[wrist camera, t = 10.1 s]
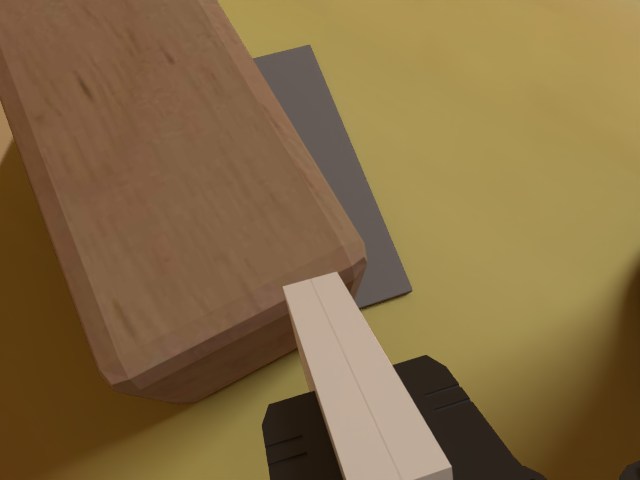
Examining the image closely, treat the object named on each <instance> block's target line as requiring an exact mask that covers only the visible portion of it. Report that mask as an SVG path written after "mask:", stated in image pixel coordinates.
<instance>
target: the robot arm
mask: <svg viewBox="0 0 640 480" xmlns="http://www.w3.org/2000/svg"><path fill="white" fill-rule="evenodd" d="M283 290H284V294H285V298H286V302H287V306H288V310H289V315H290V319H291V323H292V327H293V331H294V335H295V339H296V343H297V347H298V351H299V355H300V359H301V363H302V367H303V371H304V374H305V377H306V380H307V383H308V387H309V390H310V392H308V393H305V394H302V395H298V396H295V397H292V398H289V399H285V400H282V401H279V402H276V403H272V404H269V405H268V408H267V411H266V414H265V417H264V420H263V423H262V430H263V436H264V443H265V448H266V455H267V462H268V467H269V475H270V480H547V479H546V478H545V477H544V476H543V475H542V474H540V473H538V472H536V471H533V470H531V469H529V468H527V467H525V466H522V465H521V464H520V463H519V462H518V461H517V460H516V459H515V457H514V456H513V455H512V454H511V452H510V451H509V450H508V448H507V447H506V446H505V444H504V443H503V442H502V440H501V439H500V438H499V436H498V435H497V434H496V433H495V431H494V430H493V429H492V427H491V426H490V425H489V423H488V422H487V421H486V419H485V418H484V417H483V415H482V414H481V413H480V411H479V410H478V409H477V407H476V406H475V405H474V403H473V402H471V401H470V398H469V397H468V395H467V394H466V393H465V391H464V390H463V389H462V387H460V386H459V383H458V382H457V381H456V379H455V378H454V377H453V375H452V374H451V373H450V371H449V370H448V369H447V367H446V366H444V365H442V364H441V363H439V362H437V361H436V360H434V359H432V358H431V357H429V356H427V355H424V356H421V357H418V358H414V359H411V360H408V361H405V362H401V363H398V364H395V365H392V364H391V363H390V361H389V359H388V358H387V356H386V354H385V352H384V351H383V349H382V347H381V346H380V344H379V342H378V341H377V339H376V337H375V335H374V334H373V332H372V330H371V329H370V327H369V325H368V324H367V322H366V320H365V318H364V317H363V315H362V313H361V312H360V310H359V308H358V307H357V305H356V303H355V301H354V300H353V298H352V296H351V295H350V293H349V291H348V290H347V288H346V286H345V285H344V283H343V281H342V279H341V278H340V276H339V274H338V273H337V272H333V273H330V274H326V275H322V276H319V277H315V278H312V279H308V280H304V281H301V282H297V283H293V284H290V285H286V286H283ZM619 480H640V461H638V462H636V463H633V464H631V465H628V466H627V467H626V469H625V470H624V471H623V473H622V474H621V475H620V477H619Z"/></svg>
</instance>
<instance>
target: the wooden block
mask: <svg viewBox="0 0 640 480" xmlns="http://www.w3.org/2000/svg"><path fill="white" fill-rule="evenodd" d="M0 101H1V103H2V106H3V109H4V112H5V115H6V118H7V120H8V123H9V126H10V129H11V131H12V134H13V137H14V140H15V142H16V145H17V148H18V151H19V154H20V156H21V159H22V162H23V165H24V167H25V170H26V173H27V176H28V179H29V181H30V184H31V187H32V190H33V192H34V195H35V198H36V201H37V203H38V206H39V209H40V212H41V215H42V217H43V220H44V223H45V226H46V228H47V231H48V234H49V237H50V239H51V242H52V245H53V248H54V251H55V253H56V256H57V259H58V262H59V264H60V267H61V270H62V273H63V275H64V278H65V281H66V284H67V287H68V289H69V292H70V295H71V298H72V300H73V303H74V306H75V309H76V312H77V314H78V317H79V320H80V323H81V325H82V328H83V331H84V334H85V336H86V339H87V342H88V345H89V348H90V350H91V353H92V356H93V359H94V361H95V364H96V367H97V370H98V372H99V375H100V377H101V378H102V379H103V380H104V381H105V382H106V383H107V384H108V385H109V386H110V387H111V388H112V389H113V390H114V391H115V392H118V393H123V394H128V395H133V396H138V397H143V398H148V399H153V400H158V401H163V402H168V403H173V404H178V405H179V404H189V403H195V402H197V401H199V400H201V399H203V398H205V397H206V396H208V395H210V394H212V393H214V392H216V391H218V390H220V389H221V388H223V387H225V386H227V385H229V384H231V383H233V382H235V381H236V380H238V379H240V378H242V377H244V376H246V375H248V374H250V373H251V372H253V371H255V370H257V369H259V368H261V367H263V366H265V365H266V364H268V363H270V362H272V361H274V360H276V359H278V358H280V357H281V356H283V355H285V354H287V353H289V352H291V351H293V350H294V349H296V348H298V347H297V343H296V339H295V335H294V331H293V327H292V323H291V319H290V315H289V310H288V306H287V302H286V298H285V294H284V290H283V286H286V285H290V284H293V283H297V282H301V281H304V280H308V279H312V278H315V277H319V276H322V275H326V274H330V273H333V272H337V273H338V274H339V276H340V278H341V279H342V281H343V283H344V285H345V286H346V288H347V290H348V291H349V293H350V295H351V296H352V298H353V300H355V297H356V294H357V292H358V289H359V286H360V283H361V280H362V278H363V275H364V272H365V269H366V266H367V256H366V249H365V243H364V242H363V240H362V238H361V237H360V235H359V233H358V232H357V230H356V228H355V227H354V225H353V224H352V222H351V220H350V219H349V217H348V215H347V214H346V212H345V210H344V209H343V207H342V205H341V204H340V202H339V201H338V199H337V197H336V196H335V194H334V192H333V191H332V189H331V187H330V186H329V184H328V182H327V181H326V179H325V177H324V176H323V174H322V173H321V171H320V169H319V168H318V166H317V164H316V163H315V161H314V159H313V158H312V156H311V154H310V153H309V151H308V149H307V148H306V146H305V145H304V143H303V141H302V140H301V138H300V136H299V135H298V133H297V131H296V130H295V128H294V126H293V125H292V123H291V121H290V120H289V118H288V117H287V115H286V113H285V112H284V110H283V108H282V107H281V105H280V103H279V102H278V100H277V98H276V97H275V95H274V93H273V92H272V90H271V89H270V87H269V85H268V84H267V82H266V80H265V79H264V77H263V75H262V74H261V72H260V70H259V69H258V67H257V65H256V64H255V62H254V61H253V59H252V57H251V56H250V54H249V52H248V51H247V49H246V47H245V46H244V44H243V42H242V41H241V39H240V37H239V36H238V34H237V33H236V31H235V29H234V28H233V26H232V24H231V23H230V21H229V19H228V18H227V16H226V14H225V13H224V11H223V9H222V8H221V6H220V5H219V3H218V1H217V0H0Z"/></svg>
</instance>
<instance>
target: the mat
mask: <svg viewBox="0 0 640 480" xmlns="http://www.w3.org/2000/svg"><path fill="white" fill-rule="evenodd" d="M253 61H254V62H255V64H256V65H257V67H258V69H259V70H260V72H261V74H262V75H263V77H264V79H265V80H266V82H267V84H268V85H269V87H270V89H271V90H272V92H273V93H274V95H275V97H276V98H277V100H278V102H279V103H280V105H281V107H282V108H283V110H284V112H285V113H286V115H287V117H288V118H289V120H290V121H291V123H292V125H293V126H294V128H295V130H296V131H297V133H298V135H299V136H300V138H301V140H302V141H303V143H304V145H305V146H306V148H307V149H308V151H309V153H310V154H311V156H312V158H313V159H314V161H315V163H316V164H317V166H318V168H319V169H320V171H321V173H322V174H323V176H324V177H325V179H326V181H327V182H328V184H329V186H330V187H331V189H332V191H333V192H334V194H335V196H336V197H337V199H338V201H339V202H340V204H341V205H342V207H343V209H344V210H345V212H346V214H347V215H348V217H349V219H350V220H351V222H352V224H353V225H354V227H355V228H356V230H357V232H358V233H359V235H360V237H361V238H362V240H363V242H364V243H365V249H366V256H367V266H366V269H365V272H364V275H363V278H362V280H361V283H360V286H359V289H358V292H357V294H356V297H355V300H354V301H355V303H356V305H357V307H358V308H359V309H361V308H364V307H367V306H370V305H373V304H376V303H379V302H382V301H385V300H388V299H391V298H394V297H397V296H400V295H403V294H407V293H410V292H412V287H411V285H410V283H409V280H408V278H407V275H406V273H405V271H404V268H403V266H402V263H401V261H400V259H399V256H398V254H397V251H396V249H395V247H394V244H393V242H392V240H391V237H390V235H389V232H388V230H387V228H386V225H385V223H384V220H383V218H382V216H381V213H380V211H379V208H378V206H377V204H376V201H375V199H374V197H373V194H372V192H371V189H370V187H369V185H368V182H367V180H366V177H365V175H364V173H363V170H362V168H361V165H360V163H359V161H358V158H357V156H356V154H355V151H354V149H353V146H352V144H351V142H350V139H349V137H348V134H347V132H346V130H345V127H344V125H343V123H342V120H341V118H340V115H339V113H338V111H337V108H336V106H335V103H334V101H333V99H332V96H331V94H330V91H329V89H328V87H327V84H326V82H325V80H324V77H323V75H322V72H321V70H320V68H319V65H318V63H317V60H316V58H315V56H314V53H313V51H312V48H311V46H310V45H306V46H302V47H298V48H294V49H290V50H286V51H282V52H278V53H274V54H270V55H266V56H261V57H257V58H253Z"/></svg>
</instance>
